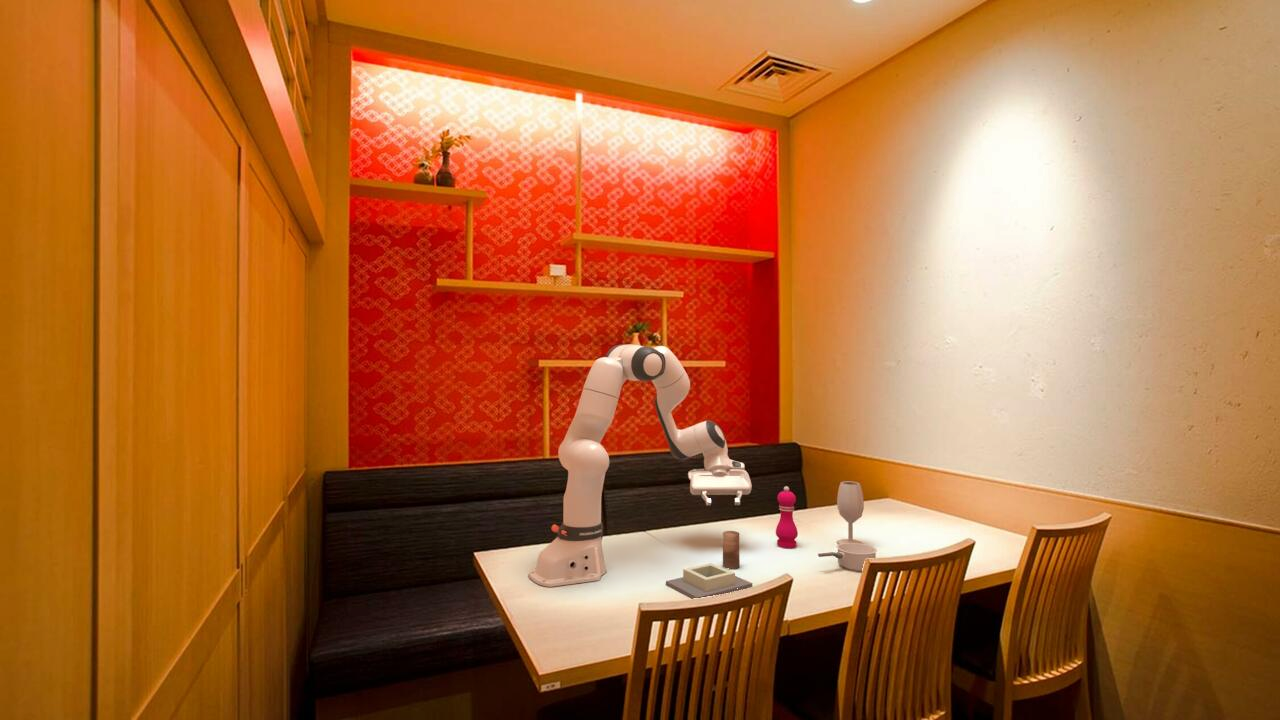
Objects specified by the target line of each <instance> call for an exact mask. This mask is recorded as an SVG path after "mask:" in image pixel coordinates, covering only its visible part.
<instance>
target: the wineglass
mask: <svg viewBox="0 0 1280 720" xmlns="http://www.w3.org/2000/svg"><path fill="white" fill-rule="evenodd" d="M836 502H837V503H836V505H837V510H838V514H839V515H840V517H842V518H843V519H844V520H845V521H846V523H847V524H848V527H847V528H848V531H847V534H848V538H842V539H838V540H836V544H837V545H839V544H842V543H858V544H865V543H864V542H863V541H860V540H857V539H853V537H854V535H853V533H854V531H853V530H854V529H853V528H854V527H853V524H854V523H856V522H857V521H858V520H860V518H862V516H863V513H864V509H865V508H864V506H865V505H864V504H865V503H864V502H865V501H864V494H863V490H862V486H861V484H860V483H859V482H858V481H857V482H856V481H840V484H839V487H838V491H837V497H836Z"/></svg>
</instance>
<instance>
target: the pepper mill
mask: <svg viewBox="0 0 1280 720" xmlns="http://www.w3.org/2000/svg"><path fill="white" fill-rule="evenodd" d="M776 498H777V502H778V503H779V505H778V507H779V508H778V510H780V517H779V521H778V523H777V525H776V528H775V536H776V537H777V541H776V545H777V547H778V548H781V547H782V549H787V548H790V549H795V548H796V547H797V541H796V538H797V537H798V534H799V533H798V528H797V525H796V524H795V521H794V517H793V513H794V511H795V505H794V504H795V503H796V501H797V499H796V495H795V494H794V493H793V492H792V491H790V488H789V486H787V485H786V486H784V487H783V490H782V491H780V492H778V494H777V497H776Z"/></svg>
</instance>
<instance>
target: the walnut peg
mask: <svg viewBox="0 0 1280 720" xmlns="http://www.w3.org/2000/svg"><path fill="white" fill-rule="evenodd" d="M740 566H741V565H740V532H739V531H734V530H726V531H722V568H724V567H725V568H724V569H726V568H729V569H728V570H737V568H738V569H740Z"/></svg>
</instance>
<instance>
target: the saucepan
mask: <svg viewBox="0 0 1280 720" xmlns="http://www.w3.org/2000/svg"><path fill="white" fill-rule="evenodd" d="M836 548H837V551H836V552H832V551H830V552H821V553H818V554H817V555H818V557H819V558H822V557H823V558H825V557H835V558H836V559H837V563H838V565H840V566H842V567H843V568H844V567H845V568H844V569H846V568H847V570H849V569H850V570H849V571H855V572H863V571H862V568H863V564H864V561H865V559H866V558H877V557H876V553H877V552H878V550H877V548H875V547H874V546H872V545H869V544H865V543H864V544H858V543H842V544H837V545H836Z"/></svg>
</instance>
